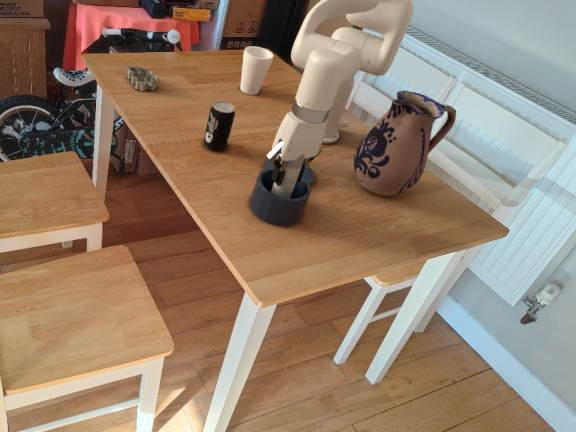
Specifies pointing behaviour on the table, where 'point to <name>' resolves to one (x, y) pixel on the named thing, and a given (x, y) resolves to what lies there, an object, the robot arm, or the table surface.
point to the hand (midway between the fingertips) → (285, 179)
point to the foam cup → (254, 69)
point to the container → (288, 178)
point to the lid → (307, 174)
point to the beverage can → (219, 125)
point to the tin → (278, 201)
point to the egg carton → (142, 78)
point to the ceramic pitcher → (400, 144)
